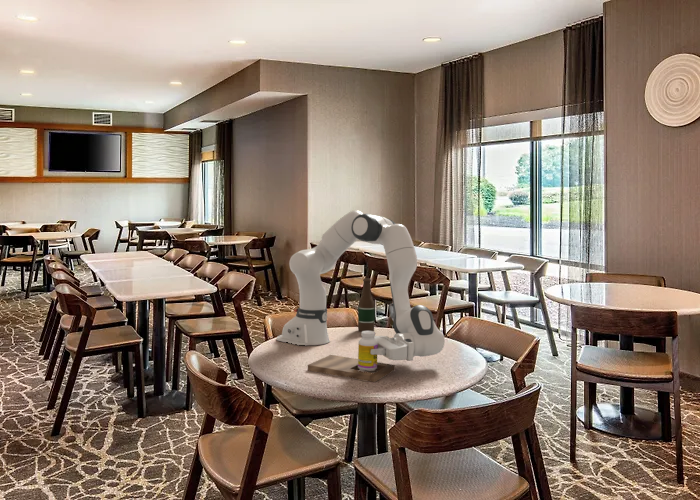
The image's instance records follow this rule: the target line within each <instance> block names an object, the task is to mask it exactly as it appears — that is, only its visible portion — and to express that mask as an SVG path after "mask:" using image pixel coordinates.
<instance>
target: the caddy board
mask: <svg viewBox="0 0 700 500" xmlns="http://www.w3.org/2000/svg"><path fill="white" fill-rule="evenodd" d="M395 368H396V367H395V364H392V363H386V362H380V361H379V362H378V361H377V369H375V370H374V371H376V372H372V371H364V370H360V369H359V368H358V358H354V357H348V356H340V355H334V354H330V355H326V356H325V357H323V358H320V359H318V360H316V361H314V362H311V363H309V364H307V371H308V372H313V373H320V374H324V375H330V376H331V375H332V376H338V377H342V378H348V379H349V378H350V379H355V380H360V381H365V382H371V383H376V382H377V381H379V380H381V379H383V378H384V377H386V376H387V375H389V374H391V373H393V372H395Z"/></svg>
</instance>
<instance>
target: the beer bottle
mask: <svg viewBox="0 0 700 500" xmlns="http://www.w3.org/2000/svg"><path fill="white" fill-rule="evenodd" d="M362 282H363V287H362V294H361V297H360V299H359V301H358V309H357V310H358V311H357V322H358V323H357V330H358V332H360V333H362V331H374V332H375V320H376V319H375V317H376V315H375V311H376V309H375V308H376V306H375V305H376V304H375V301H374V298H373V296H372V292H371V291H372V290H371V289H372V288H371V287H372V285H371V282H372V280H371V278H368V277H366V278H363V280H362Z"/></svg>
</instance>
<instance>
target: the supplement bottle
mask: <svg viewBox="0 0 700 500" xmlns="http://www.w3.org/2000/svg"><path fill="white" fill-rule="evenodd" d="M360 334H361V338H360V339H359V340H358V348H357V349H358V351H357V357H358V358H357V359H358V368H359V371H365V372H373V371H376V370H375V369H377V362H378V355H376V354H375V355H371V354H370V353H369V352H370V351H369V350H370V349H372V348H375V349H378V342H377V340H376V339H374V337H375V336H376V332H375V330H374V331H362V332H360Z"/></svg>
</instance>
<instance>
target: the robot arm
mask: <svg viewBox="0 0 700 500" xmlns="http://www.w3.org/2000/svg"><path fill="white" fill-rule="evenodd" d="M409 232H410V231H408V228H407V227H406V226H405V225H404V224H400V223H396V222H394V221H393V220H392V219H391V218H388V217H387V218H386V217H384V216H382V215H378V214H371V213H363V212H362V211H361V210H358V209H354V210H350V211H349V212H347V213H346V214H345V215H342V216H341V217H340V218H338V220H336V222H335V223H334V224H333V225H331V226H330V227H329V228H328V229H327V230H326V231H325V232H324V233H323V234H322V235H321V240H320V242H318V244H317V245H316V246H314V247H312V248H308V249H301V250H299V251H297V252H295V253H294V254H292V255H291V256H290V259H289V261H288V262H289V263H288V265H289V269H290V271H291V272H292V274H294V275H295V278H296V281H297V284H298V291H299V307H298V308H296V309H295V310H294V313H295V316H293V317H292V319H290V320H288V322H286V323H285V324H284V325H283V328H282V332H281V334H279V335H277V337H276V341H279V342H283V343H286V342H288V343H287V344H291V343H292V344H291V345H295V344H297V345H296V346H299V345H305V346H317V345H318V346H319V345H325V344H328V343H329V342H330V337H329V332H328V326H327V324H328V323H327V319H328V308H327V289H326V287H325V286H324V285H323V283H322V282H323V281H322V279H321V275H322V274H326V273H328V272H330V271H331V270H333V269H334V268H335V266H336V262H337V261H338V260H339V259H340V258H341V256H342V255H343V254H344V253H346V251H347V250H348V249H349V248H350V247H351V246H352V245H353V244H355V243H356V242H357V241H360V242H366V243H367V244H368V243H369V244H374V245H382V246H383V249H384V252H385V257H386V261H387V267H388V271H389V273H388V274H389V284H390V285H389V286H390V293H391V299H392V303H393V306H394V321H393V325H392V326H393V330H394V332H395V334H393V336H392V337H390V336H387V335H375V337H374V339H376V340H377V342H378V349H375V348H372V349H370V350H369V351H370V352H369V353H370V354H371V355H375V354H376V355H377V356H383V357H385V358H387V359H388V360H391V361H407V362H408V361H409V362H410V361H411V362H412V361H414V357H422V358H423V357H430V356H434V355H438V354H439V353H441V352H442V350H443V349H444V346H445V343H446V342H445V340H446V339H445V336H444V334H443V332H442V331H440V329H439V328H438V327H437V325H436V322H435V320H434V316H433V313H432V311H431V310H430V309H429V308H428V307H427V306H426V305H422V304H417V305H415V306H413V307H411V303H410V297H409V285H410V281H411V279H412V277H413V276H414V273H415V272H416V270H417V268H418V257H417V252H416V249H415V246H414V241H413V239H412V236H411V234H410V233H409Z"/></svg>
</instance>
